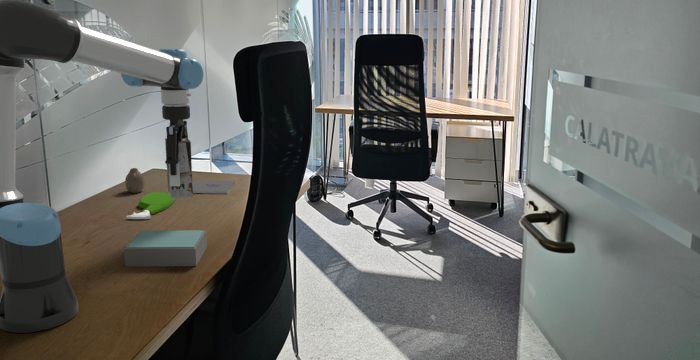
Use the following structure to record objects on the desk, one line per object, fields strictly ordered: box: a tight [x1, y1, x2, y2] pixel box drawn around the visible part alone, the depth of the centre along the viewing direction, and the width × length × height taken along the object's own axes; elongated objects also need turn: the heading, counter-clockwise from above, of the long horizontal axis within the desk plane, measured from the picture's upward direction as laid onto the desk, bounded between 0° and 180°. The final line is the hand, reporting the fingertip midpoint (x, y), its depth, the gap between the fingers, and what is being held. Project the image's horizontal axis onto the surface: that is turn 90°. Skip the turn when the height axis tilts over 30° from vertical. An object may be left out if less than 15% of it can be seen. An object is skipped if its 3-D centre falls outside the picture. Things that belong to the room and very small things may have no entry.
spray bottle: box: [126, 191, 177, 220], centre depth 200 cm, size 3×11×24 cm
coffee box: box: [164, 137, 194, 199], centre depth 171 cm, size 9×6×16 cm
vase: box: [124, 167, 146, 194], centre depth 220 cm, size 7×7×9 cm
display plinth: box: [123, 229, 208, 267], centre depth 158 cm, size 14×18×5 cm
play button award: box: [192, 179, 236, 195], centre depth 227 cm, size 16×2×20 cm
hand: (179, 181), depth 172 cm, fingers closed on coffee box, 10 cm apart
